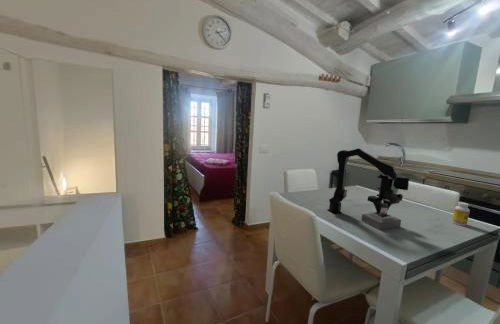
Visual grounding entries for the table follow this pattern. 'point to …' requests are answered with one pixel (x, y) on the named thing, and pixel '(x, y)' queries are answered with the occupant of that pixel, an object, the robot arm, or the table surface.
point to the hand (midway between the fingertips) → (381, 213)
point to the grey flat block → (381, 221)
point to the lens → (383, 210)
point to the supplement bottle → (461, 214)
